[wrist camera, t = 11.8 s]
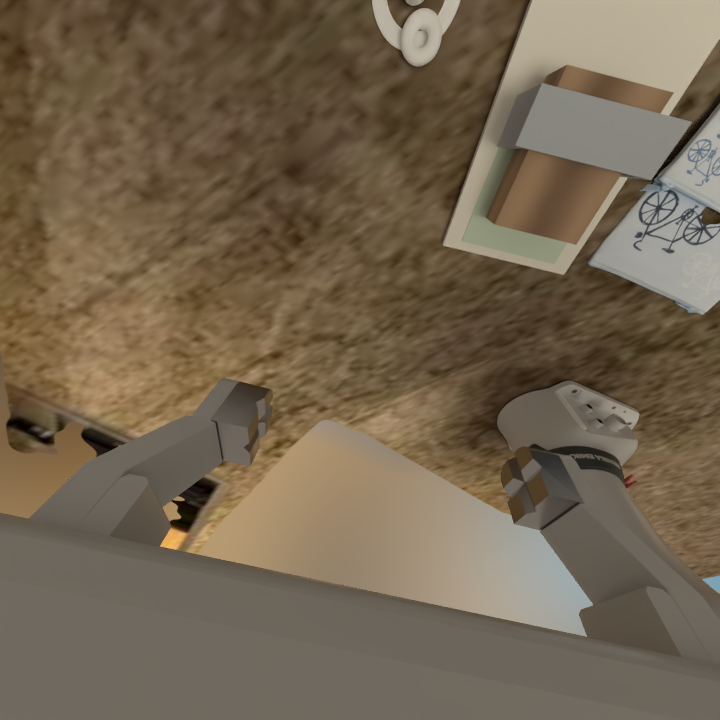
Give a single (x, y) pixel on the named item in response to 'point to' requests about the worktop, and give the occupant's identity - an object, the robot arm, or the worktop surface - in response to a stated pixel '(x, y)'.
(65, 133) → the worktop surface
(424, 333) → the worktop surface
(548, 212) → the wood grain block
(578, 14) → the board
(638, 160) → the tunnel
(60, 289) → the worktop surface
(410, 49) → the white ring-shaped piece
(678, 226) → the bicycle print towel
